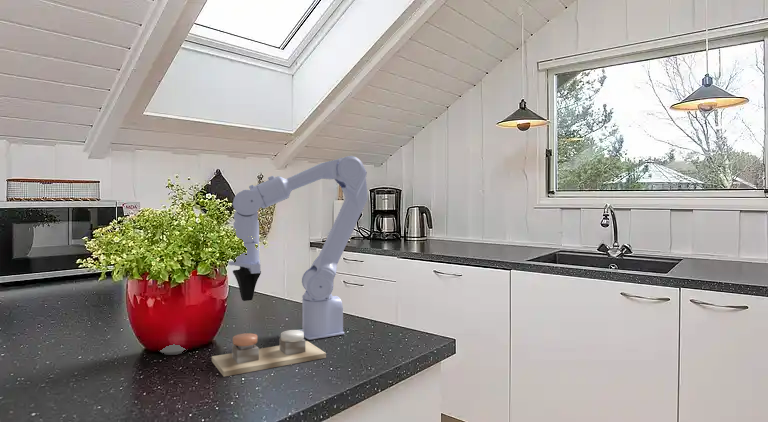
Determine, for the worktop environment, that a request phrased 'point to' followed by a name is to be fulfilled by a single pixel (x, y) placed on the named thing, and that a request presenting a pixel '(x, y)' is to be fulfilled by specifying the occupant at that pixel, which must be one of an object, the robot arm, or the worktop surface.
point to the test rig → (266, 357)
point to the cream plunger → (292, 336)
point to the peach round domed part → (245, 340)
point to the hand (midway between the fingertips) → (247, 300)
